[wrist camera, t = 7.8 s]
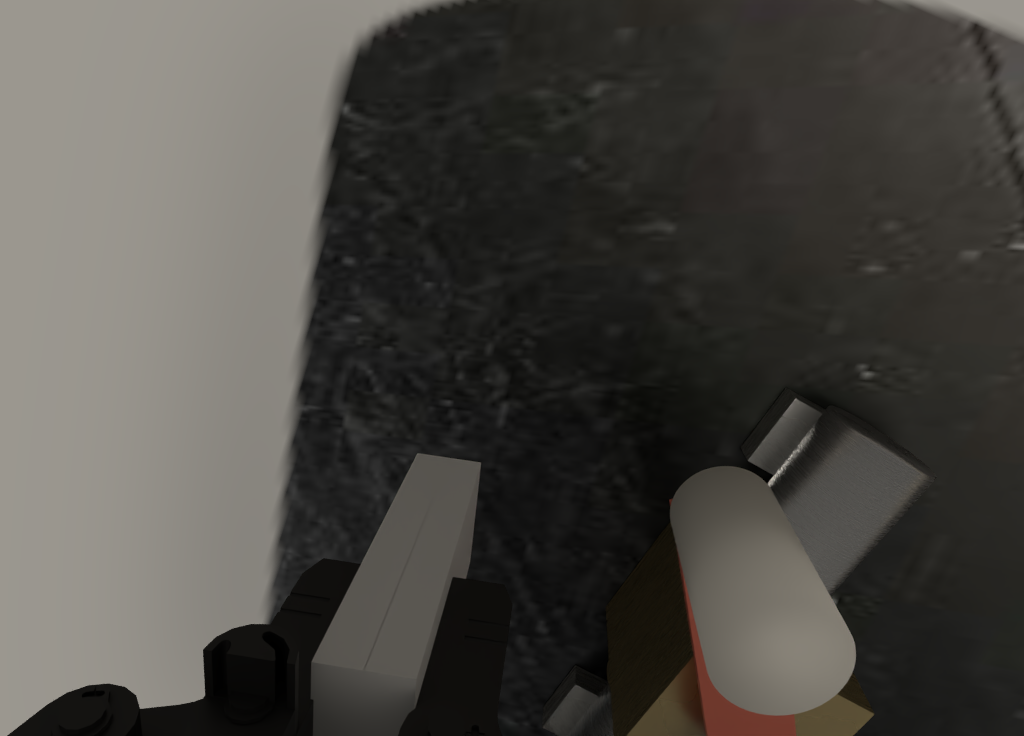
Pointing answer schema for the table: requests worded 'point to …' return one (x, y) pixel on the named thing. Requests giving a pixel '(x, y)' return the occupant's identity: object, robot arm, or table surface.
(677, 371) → the table surface
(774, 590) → the lever
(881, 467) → the valve
